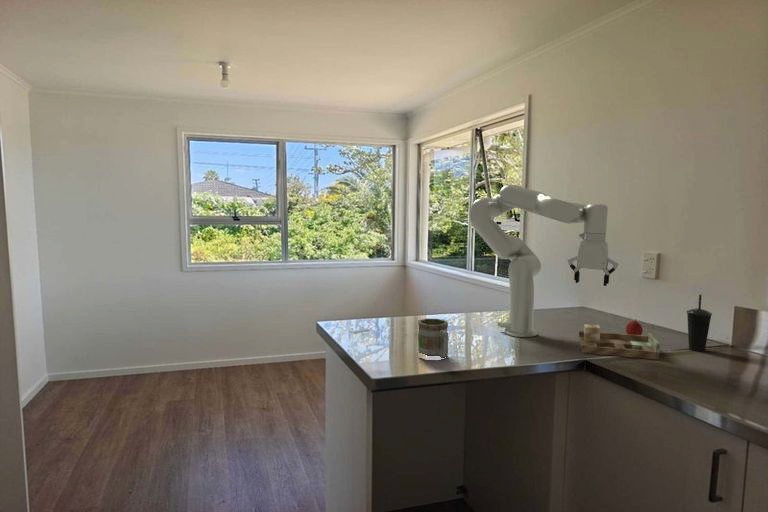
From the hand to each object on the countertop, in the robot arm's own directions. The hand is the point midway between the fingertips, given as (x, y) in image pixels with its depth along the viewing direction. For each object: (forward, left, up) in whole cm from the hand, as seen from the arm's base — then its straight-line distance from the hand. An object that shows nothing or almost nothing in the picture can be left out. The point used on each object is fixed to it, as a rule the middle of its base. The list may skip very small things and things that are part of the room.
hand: (590, 283), depth 174 cm
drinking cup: (+36, +4, -23) cm, 43 cm away
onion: (+17, +12, -23) cm, 31 cm away
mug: (-51, -35, -23) cm, 66 cm away
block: (+1, -3, -20) cm, 20 cm away
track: (+9, -6, -23) cm, 25 cm away
